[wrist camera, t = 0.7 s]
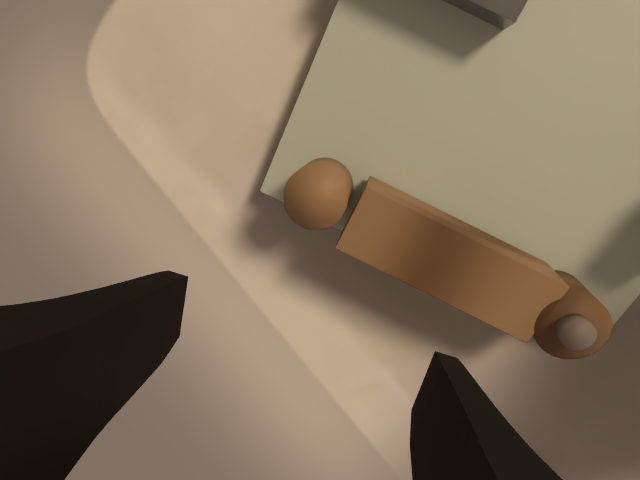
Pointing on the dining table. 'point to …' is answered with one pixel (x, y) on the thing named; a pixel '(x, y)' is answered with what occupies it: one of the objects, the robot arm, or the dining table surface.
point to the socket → (492, 10)
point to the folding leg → (474, 272)
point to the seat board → (480, 128)
